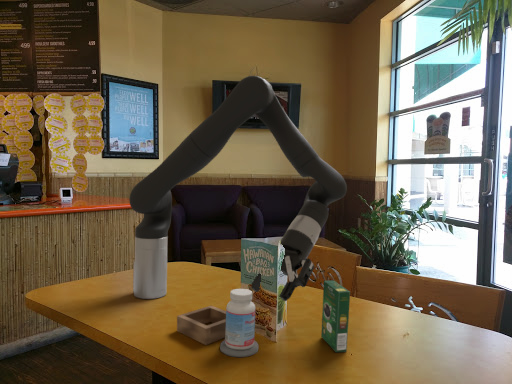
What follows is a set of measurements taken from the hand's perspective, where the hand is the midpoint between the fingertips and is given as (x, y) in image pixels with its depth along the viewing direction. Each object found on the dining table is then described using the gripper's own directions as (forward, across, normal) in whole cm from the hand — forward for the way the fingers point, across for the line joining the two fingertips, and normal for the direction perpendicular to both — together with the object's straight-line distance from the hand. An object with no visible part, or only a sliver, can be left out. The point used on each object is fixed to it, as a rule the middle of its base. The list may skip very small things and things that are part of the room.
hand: (268, 294), depth 87 cm
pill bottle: (+12, 0, +1) cm, 12 cm away
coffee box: (+2, +13, +12) cm, 18 cm away
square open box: (+12, -11, +1) cm, 17 cm away
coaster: (+13, 0, +1) cm, 13 cm away
